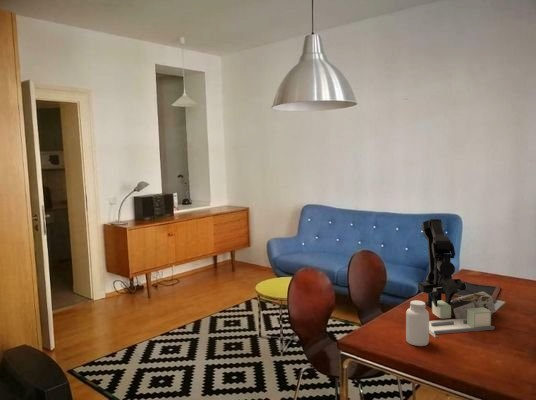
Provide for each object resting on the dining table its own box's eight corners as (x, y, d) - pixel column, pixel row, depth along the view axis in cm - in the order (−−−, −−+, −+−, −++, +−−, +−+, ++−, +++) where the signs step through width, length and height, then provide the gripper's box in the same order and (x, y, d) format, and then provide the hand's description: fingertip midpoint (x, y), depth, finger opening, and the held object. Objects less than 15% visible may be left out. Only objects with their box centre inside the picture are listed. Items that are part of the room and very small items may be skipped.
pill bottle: (428, 338, 158) (428, 299, 156) (429, 348, 150) (429, 307, 148) (406, 336, 160) (406, 298, 159) (405, 345, 153) (406, 305, 151)
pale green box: (440, 322, 172) (440, 306, 172) (432, 315, 179) (431, 301, 179) (451, 321, 173) (451, 305, 172) (442, 314, 180) (442, 300, 179)
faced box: (466, 324, 166) (467, 308, 165) (483, 323, 167) (483, 307, 166) (473, 329, 161) (474, 312, 161) (490, 327, 162) (491, 311, 161)
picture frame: (457, 283, 224) (447, 297, 203) (457, 280, 223) (447, 293, 203) (500, 289, 212) (494, 304, 192) (500, 285, 212) (494, 300, 192)
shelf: (419, 325, 170) (419, 318, 170) (475, 321, 173) (475, 314, 172) (435, 337, 158) (435, 330, 158) (494, 332, 161) (494, 326, 160)
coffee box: (492, 296, 170) (451, 305, 172) (496, 311, 170) (456, 320, 172) (483, 290, 179) (445, 299, 181) (487, 305, 179) (449, 314, 181)
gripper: (430, 276, 165) (430, 314, 166) (474, 273, 167) (474, 311, 168) (417, 269, 176) (416, 305, 177) (458, 266, 178) (458, 302, 179)
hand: (441, 306), depth 175 cm, fingers closed on pale green box, 5 cm apart
